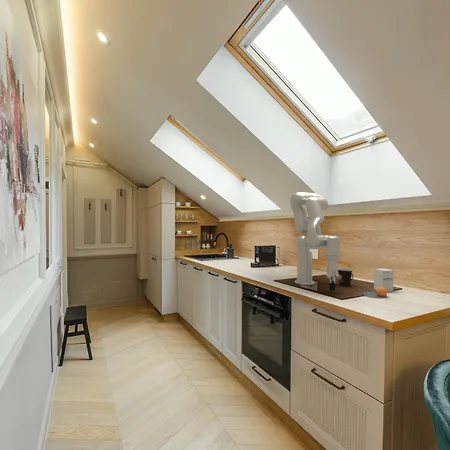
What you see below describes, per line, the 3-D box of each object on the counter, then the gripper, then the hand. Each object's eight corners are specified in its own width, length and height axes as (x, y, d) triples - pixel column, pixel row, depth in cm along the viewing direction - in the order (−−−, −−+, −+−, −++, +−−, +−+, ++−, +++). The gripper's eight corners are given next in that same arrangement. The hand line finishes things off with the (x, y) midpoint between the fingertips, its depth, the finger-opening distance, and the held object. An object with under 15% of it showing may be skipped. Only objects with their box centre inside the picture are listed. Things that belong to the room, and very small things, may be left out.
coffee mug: (336, 283, 193) (336, 268, 193) (350, 284, 191) (350, 268, 191) (339, 287, 182) (339, 271, 181) (354, 288, 180) (354, 271, 180)
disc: (358, 291, 170) (358, 291, 170) (382, 293, 168) (382, 292, 168) (364, 297, 158) (364, 296, 158) (390, 298, 155) (390, 298, 155)
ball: (388, 290, 161) (381, 297, 162) (380, 283, 163) (373, 290, 164) (390, 292, 156) (383, 299, 157) (382, 285, 157) (374, 292, 158)
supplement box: (382, 292, 170) (382, 270, 170) (373, 289, 178) (374, 268, 177) (393, 291, 171) (394, 270, 171) (384, 288, 179) (385, 268, 179)
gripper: (324, 256, 175) (323, 286, 175) (327, 259, 160) (327, 292, 161) (337, 256, 173) (336, 287, 174) (342, 259, 159) (341, 293, 159)
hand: (332, 289), depth 167 cm, fingers closed
